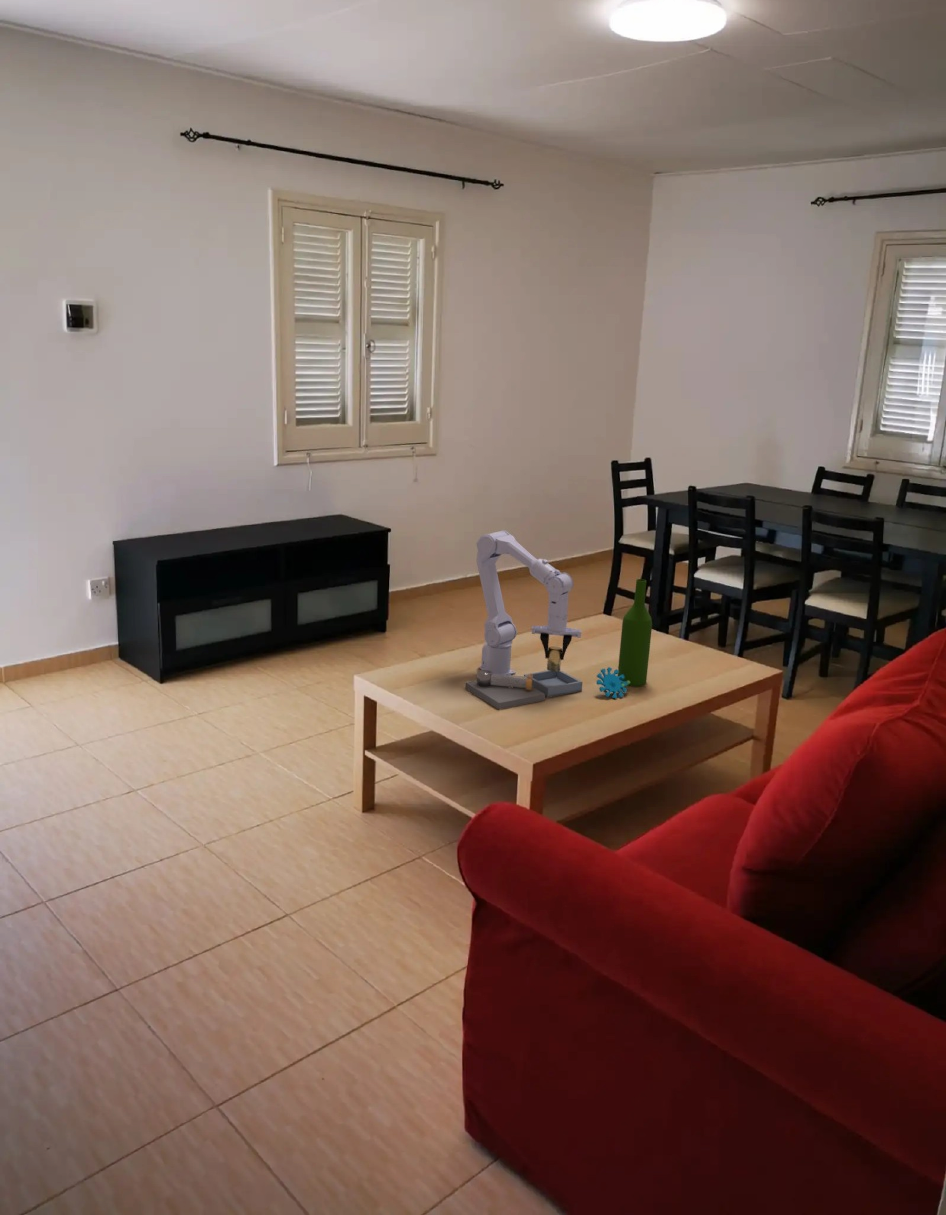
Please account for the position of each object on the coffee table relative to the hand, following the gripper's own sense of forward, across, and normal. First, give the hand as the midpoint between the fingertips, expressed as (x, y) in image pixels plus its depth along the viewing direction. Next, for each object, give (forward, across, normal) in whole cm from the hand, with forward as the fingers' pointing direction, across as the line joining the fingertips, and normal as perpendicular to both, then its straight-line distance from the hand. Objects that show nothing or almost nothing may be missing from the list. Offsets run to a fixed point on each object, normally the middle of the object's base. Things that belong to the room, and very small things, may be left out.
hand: (554, 658), depth 281 cm
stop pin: (+3, 0, 0) cm, 4 cm away
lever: (+7, -14, -8) cm, 18 cm away
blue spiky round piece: (+10, +18, -1) cm, 20 cm away
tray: (+9, 0, 0) cm, 9 cm away
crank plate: (+9, -14, -9) cm, 19 cm away
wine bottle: (+10, +24, +12) cm, 28 cm away
